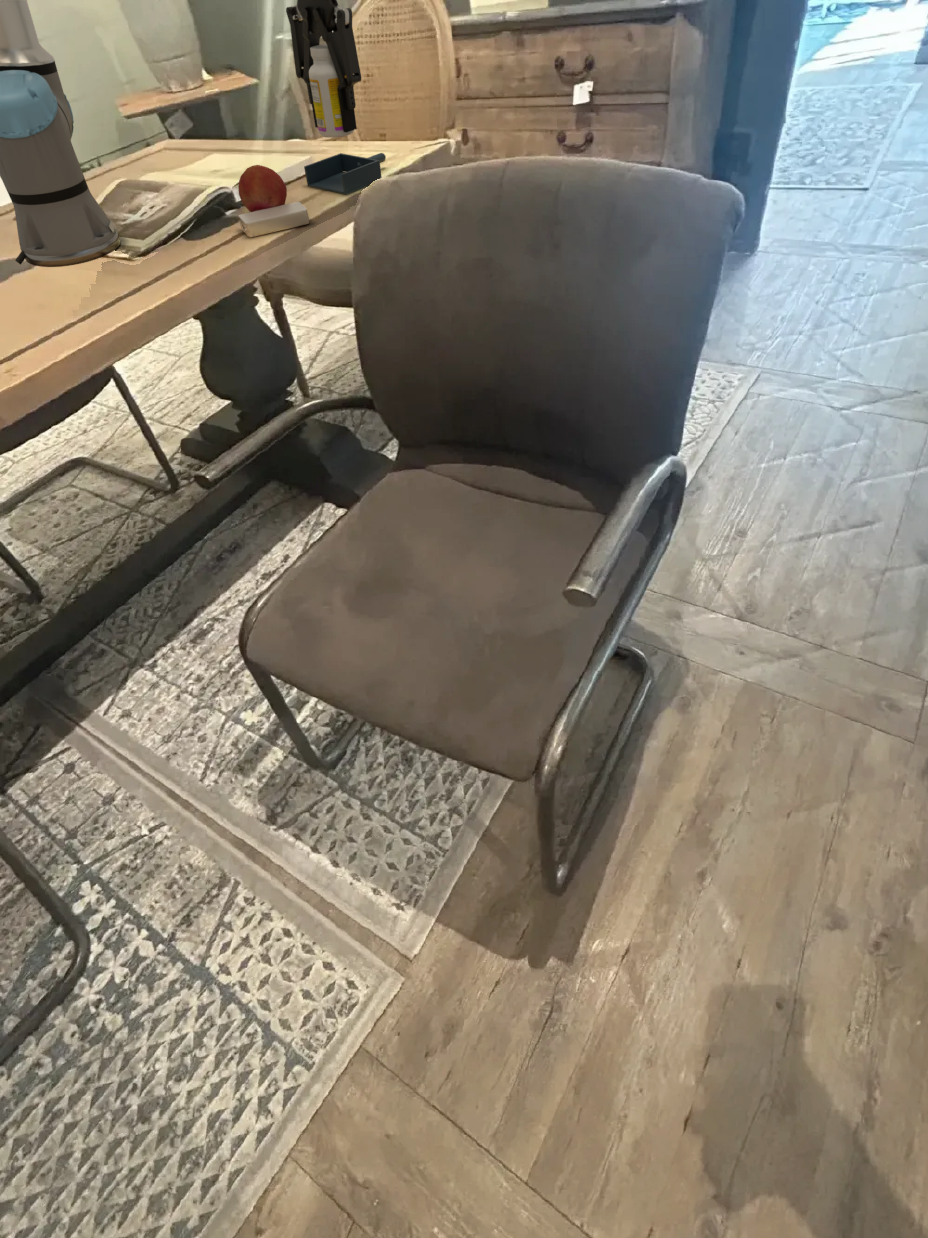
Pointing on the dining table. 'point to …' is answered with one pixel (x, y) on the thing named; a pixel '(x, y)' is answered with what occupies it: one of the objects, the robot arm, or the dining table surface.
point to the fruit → (261, 188)
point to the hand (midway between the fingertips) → (335, 127)
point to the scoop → (334, 178)
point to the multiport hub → (274, 219)
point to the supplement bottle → (325, 93)
